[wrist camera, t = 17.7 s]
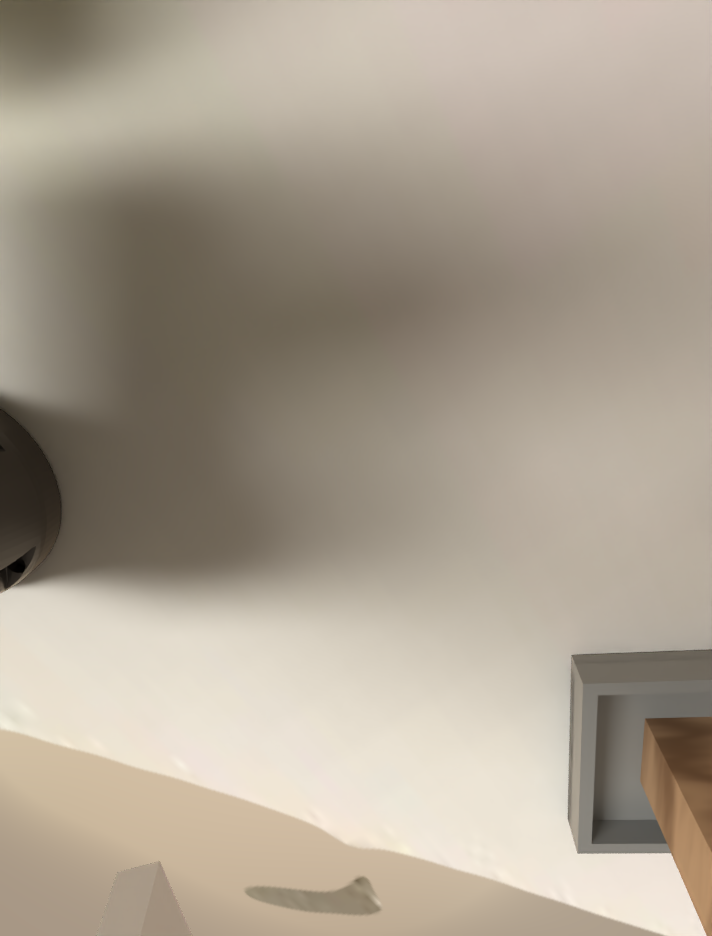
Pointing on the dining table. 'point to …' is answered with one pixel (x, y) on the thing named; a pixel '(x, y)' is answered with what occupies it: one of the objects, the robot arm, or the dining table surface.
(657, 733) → the block
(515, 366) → the dining table surface
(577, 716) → the tray
